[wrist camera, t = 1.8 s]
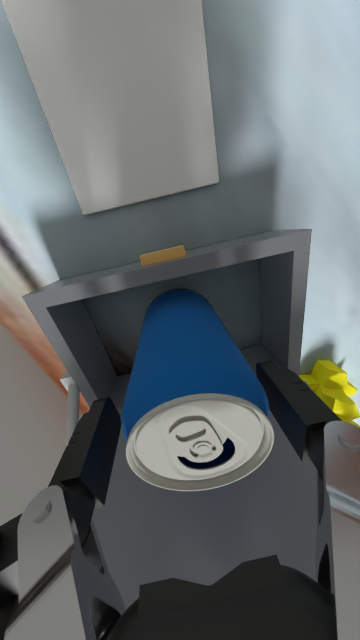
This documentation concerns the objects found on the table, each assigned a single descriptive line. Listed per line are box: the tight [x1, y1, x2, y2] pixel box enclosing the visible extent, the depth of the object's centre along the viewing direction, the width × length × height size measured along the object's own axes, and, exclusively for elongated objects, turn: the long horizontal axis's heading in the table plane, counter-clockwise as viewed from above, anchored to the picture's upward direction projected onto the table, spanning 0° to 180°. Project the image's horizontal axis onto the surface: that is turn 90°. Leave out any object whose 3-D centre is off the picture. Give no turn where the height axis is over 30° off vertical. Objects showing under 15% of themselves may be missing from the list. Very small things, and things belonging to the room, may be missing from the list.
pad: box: [1, 0, 219, 215], centre depth 11 cm, size 10×10×1 cm
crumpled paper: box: [299, 360, 360, 428], centre depth 20 cm, size 6×8×8 cm
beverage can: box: [121, 289, 274, 491], centre depth 12 cm, size 6×6×12 cm
